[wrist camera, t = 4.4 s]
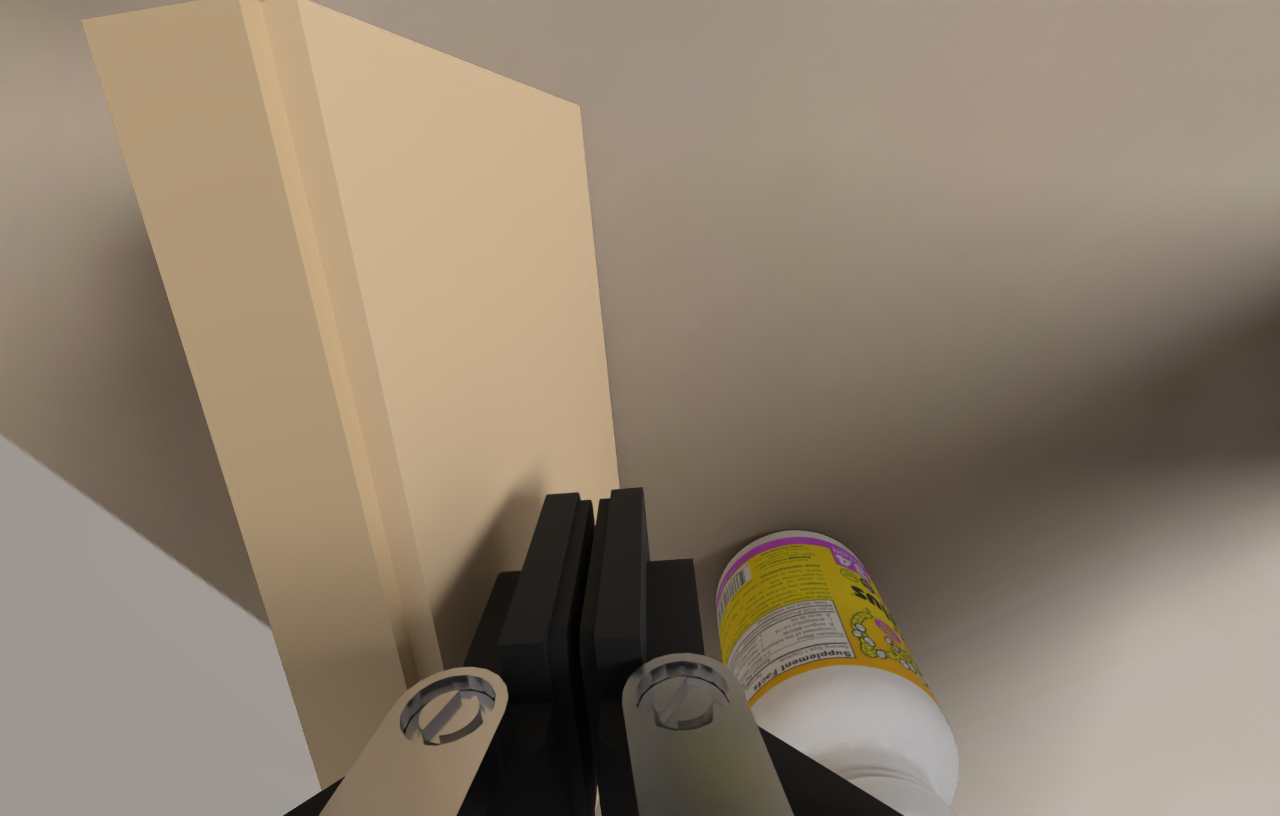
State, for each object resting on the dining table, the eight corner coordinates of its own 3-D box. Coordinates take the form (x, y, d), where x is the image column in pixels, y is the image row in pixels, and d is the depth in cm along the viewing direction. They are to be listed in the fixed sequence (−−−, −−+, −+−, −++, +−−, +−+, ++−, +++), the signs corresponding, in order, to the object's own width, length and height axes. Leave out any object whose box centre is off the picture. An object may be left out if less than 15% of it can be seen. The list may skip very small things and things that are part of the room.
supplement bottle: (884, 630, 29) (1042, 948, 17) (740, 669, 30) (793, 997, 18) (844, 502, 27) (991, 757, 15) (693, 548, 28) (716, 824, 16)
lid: (495, 115, 17) (579, 106, 16) (571, 651, 22) (637, 654, 21) (81, 20, 7) (274, -14, 6) (406, 1062, 12) (524, 1083, 11)
